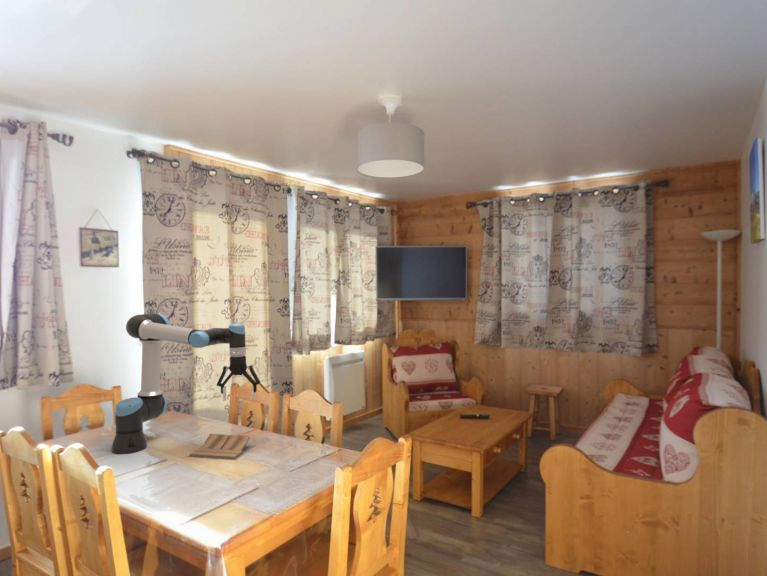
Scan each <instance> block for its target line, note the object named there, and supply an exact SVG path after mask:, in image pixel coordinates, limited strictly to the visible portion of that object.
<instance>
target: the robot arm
mask: <svg viewBox="0 0 767 576" xmlns="http://www.w3.org/2000/svg"><path fill="white" fill-rule="evenodd" d="M125 330H126V332H127V334H128V335H129V336H130V337H131V338H133V339H138V341H139V342H140V343H141V344H142V350H141V376H140V377H141V383H140V391H139V392H137V397H129V398H125V399H122V400H120V401H118V402H117V403H116V405H115V409H114V410H115V412H114V414H115V415H114V417H115V436H114V439H113V442H112V445H111V452H112V453H113V454H118V455H119V454H121V455H123V454H131V453H132V454H133V453H136V452H141V451H143V450H145V449H146V448H147V447H148V441H147V438H146V435H145V433H144V428H143V427H144V423H146V422H148V421H152V420H155V419H156V418H159V417H160V416H162V415H163V414H164V413H165V412H166V410H167V408H168V401H167V398H166V397H165V395H164V393H163V391H162V390H161V389H160V386H161V383H160V382H161V359H162V358H161V357H162V356H161V355H162V353H161V352H162V351H161V350H162V343H163V342H164V341H166V342H171V343H172V342H173V343H175V344H176V343H177V344H183V345H189V346H190V345H191V347H193V348H195V349H199V348H200V349H202V348H205V347H209V346H215V345H221V344H228V346H229V366H227V365H224V366H223V367H222V372H221V374H220V376H219V378H218V381H217V383H216V386H217V387H220V395H221V394H222V398H223V399H222V401H223V402H225V401H226V400H227V386H225V385H226V384H227V383H228V381H229V380H230V379H231V378H232V376H242V375H243V376H244V377H245V378H246V379H247V380H248V382H250V384H252V385H251V400H253V401H254V400H255V399H256V396H255V394H256V393H257V391H258V389H257V388H258V387H257V385H260V384H261V380H260V378H259V377H258V375H257V372H256V371H255V370H254V365H253V364H250V365H247V356H246V355H247V353H246V352H247V350H246V349H247V347H246V327H245V324H244V323H230V324H229V325H228V327H211V328H208V329H203V330H202V329H196V328H190V327H184V326H177V325H171V324H170V321H169V319H168V318H167V317H166V315H164V314H162V313H159V312H158V313H155V312H154V313H153V312H152V313H145V314H136V315H133V316H131V317H130V318H129V319H128V320H127V321H126V325H125ZM247 369H248V371H250V373H251V375H252V376H251V375H250V374H249V373H248V372H247ZM227 371H230V373H229V374H228V375H227V377H226V378H225V375H226V373H227ZM252 377H253V378H252ZM224 378H225V380H224ZM223 380H224V381H223Z"/></svg>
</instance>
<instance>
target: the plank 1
mask: <svg viewBox="0 0 767 576" xmlns="http://www.w3.org/2000/svg"><path fill="white" fill-rule="evenodd" d="M229 436H230V434H221V433H220V434H219V433H210V434H209V435H208V436H207V438H206V439H205V442H204V443H203V444H202V446H201V448H208V449H222V448H223V446H224V445H225V443H226V441H227V439H228V438H229Z"/></svg>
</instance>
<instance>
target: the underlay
mask: <svg viewBox="0 0 767 576" xmlns="http://www.w3.org/2000/svg"><path fill="white" fill-rule="evenodd" d="M256 446H257V445H256V444H246V446H245V448H244V450H243V451H240V450H224V449H208V448H202V447H199V448H197V449H195V450H194V451H192V452H190V453H189V455H188V456H186V457H187V458H198V459H213V460H227V461H229V460H230V461H237V460H239V459H240V458H241V457H242V456H244V455H245V454H246V453H248V452H249V451H250V450H252V449H253V448H254V447H256Z"/></svg>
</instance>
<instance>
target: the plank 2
mask: <svg viewBox="0 0 767 576" xmlns="http://www.w3.org/2000/svg"><path fill="white" fill-rule="evenodd" d="M250 439H251V438H250V435H240V434H239V435H237V434H229V438H228V439H227V441H226V443H225V445H224V446H223V448H222V449H224V450H240V451H243V450H244V448H245V446H246V445H248V442H249V441H250Z"/></svg>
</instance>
